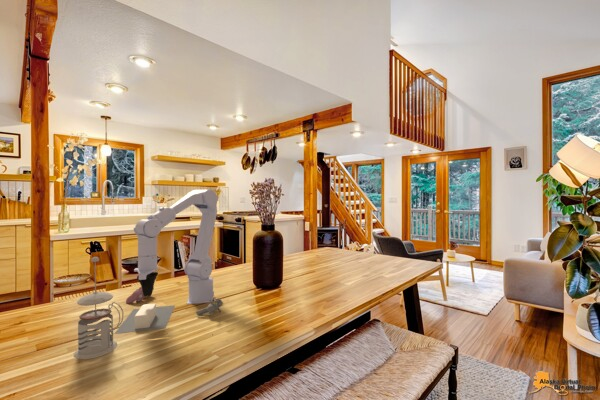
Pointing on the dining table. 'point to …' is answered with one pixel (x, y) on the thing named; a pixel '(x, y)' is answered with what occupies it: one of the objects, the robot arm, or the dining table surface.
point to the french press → (95, 325)
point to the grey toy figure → (211, 307)
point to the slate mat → (157, 323)
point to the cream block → (145, 316)
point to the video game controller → (136, 296)
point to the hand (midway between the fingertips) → (147, 295)
